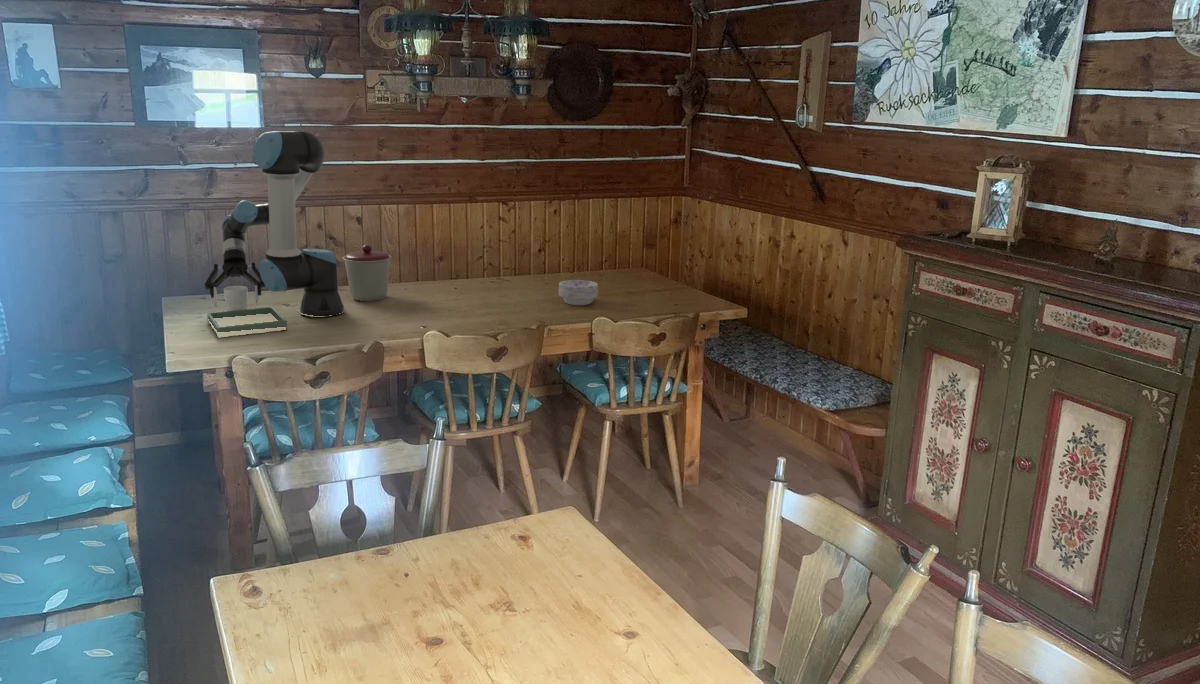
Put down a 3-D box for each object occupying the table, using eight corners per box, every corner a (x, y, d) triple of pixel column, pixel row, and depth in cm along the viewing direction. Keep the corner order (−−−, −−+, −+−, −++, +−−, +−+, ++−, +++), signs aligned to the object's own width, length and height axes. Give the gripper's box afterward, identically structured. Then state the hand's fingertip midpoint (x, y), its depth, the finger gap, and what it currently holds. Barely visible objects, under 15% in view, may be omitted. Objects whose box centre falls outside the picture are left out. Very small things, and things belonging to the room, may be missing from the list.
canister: (342, 304, 345) (338, 249, 340) (348, 293, 363) (345, 240, 357) (391, 304, 348) (388, 249, 342) (395, 293, 365) (393, 240, 359)
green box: (273, 316, 326) (272, 306, 325) (287, 330, 309) (286, 320, 308) (208, 323, 316) (207, 313, 315) (218, 338, 298) (217, 327, 297)
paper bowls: (592, 297, 365) (592, 278, 363) (602, 306, 351) (602, 286, 349) (554, 299, 361) (554, 279, 359) (563, 308, 347) (563, 287, 345)
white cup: (221, 316, 325) (218, 288, 322) (239, 311, 331) (236, 284, 329) (236, 319, 321) (234, 291, 319) (254, 314, 328) (252, 287, 325)
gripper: (271, 258, 340) (274, 307, 330) (198, 261, 332) (199, 311, 322) (270, 246, 333) (273, 296, 324) (195, 249, 326) (196, 299, 316)
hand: (236, 303), depth 323 cm, fingers open, 13 cm apart
